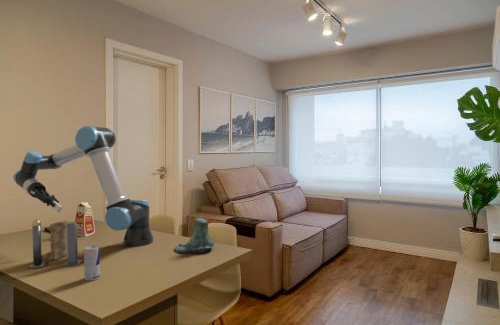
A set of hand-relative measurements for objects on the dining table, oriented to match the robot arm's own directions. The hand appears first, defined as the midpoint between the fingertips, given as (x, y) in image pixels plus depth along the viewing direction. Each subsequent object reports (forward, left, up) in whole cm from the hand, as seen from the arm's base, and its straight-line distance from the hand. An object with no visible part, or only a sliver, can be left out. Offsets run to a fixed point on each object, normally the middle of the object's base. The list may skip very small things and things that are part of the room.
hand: (59, 209), depth 161 cm
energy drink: (-33, +33, -21) cm, 51 cm away
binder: (+27, -48, -22) cm, 59 cm away
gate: (-4, +11, -21) cm, 24 cm away
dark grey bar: (-16, +17, -21) cm, 31 cm away
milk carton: (+9, -36, -21) cm, 43 cm away
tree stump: (-65, -7, -21) cm, 69 cm away
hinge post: (-2, +20, -21) cm, 29 cm away
